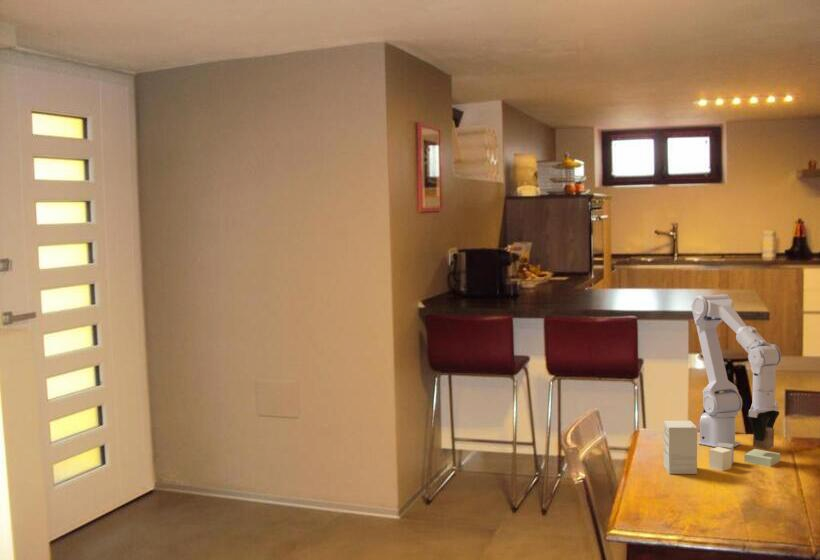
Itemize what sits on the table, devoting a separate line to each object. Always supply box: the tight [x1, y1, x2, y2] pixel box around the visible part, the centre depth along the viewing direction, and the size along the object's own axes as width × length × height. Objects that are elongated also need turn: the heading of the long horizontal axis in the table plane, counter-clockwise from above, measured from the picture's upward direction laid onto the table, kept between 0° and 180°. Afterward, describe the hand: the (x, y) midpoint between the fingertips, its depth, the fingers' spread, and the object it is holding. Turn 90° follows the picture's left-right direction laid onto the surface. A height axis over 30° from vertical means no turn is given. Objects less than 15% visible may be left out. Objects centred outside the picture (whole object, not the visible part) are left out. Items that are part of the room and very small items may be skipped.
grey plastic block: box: [715, 442, 735, 466], centre depth 234 cm, size 4×4×5 cm
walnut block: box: [752, 427, 775, 450], centre depth 234 cm, size 4×4×5 cm
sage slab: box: [743, 448, 781, 468], centre depth 235 cm, size 7×7×2 cm
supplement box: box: [663, 420, 698, 475], centre depth 228 cm, size 7×7×13 cm
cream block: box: [708, 447, 732, 472], centre depth 230 cm, size 4×4×5 cm
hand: (762, 438), depth 235 cm, fingers closed on walnut block, 4 cm apart
